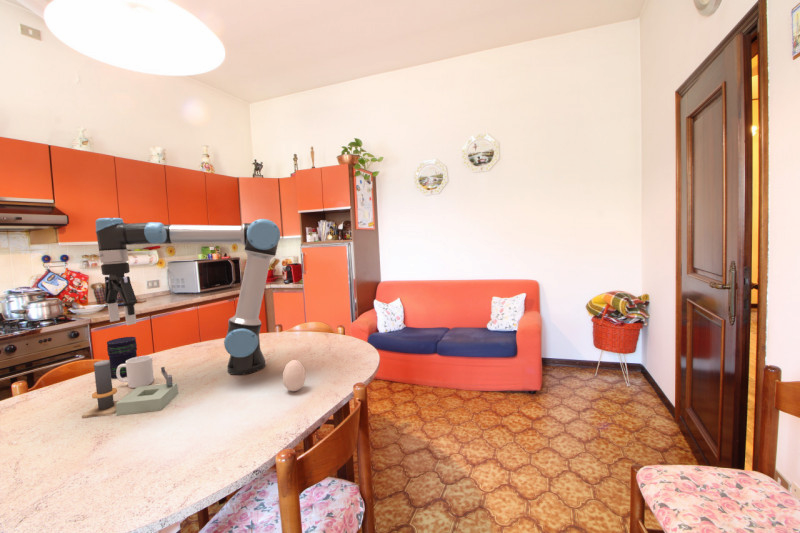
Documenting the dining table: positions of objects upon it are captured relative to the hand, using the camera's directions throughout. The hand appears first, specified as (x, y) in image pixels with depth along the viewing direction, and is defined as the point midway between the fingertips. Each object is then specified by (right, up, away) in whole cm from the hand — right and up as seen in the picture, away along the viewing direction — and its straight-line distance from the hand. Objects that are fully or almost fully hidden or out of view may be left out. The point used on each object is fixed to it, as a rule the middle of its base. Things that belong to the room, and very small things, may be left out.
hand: (123, 322), depth 122 cm
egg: (+60, -26, +4) cm, 65 cm away
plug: (-1, -28, -6) cm, 28 cm away
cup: (-7, -27, +15) cm, 32 cm away
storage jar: (-20, -27, +26) cm, 42 cm away
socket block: (+11, -28, -2) cm, 30 cm away
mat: (-1, -28, -6) cm, 29 cm away
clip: (+12, -23, +5) cm, 26 cm away
